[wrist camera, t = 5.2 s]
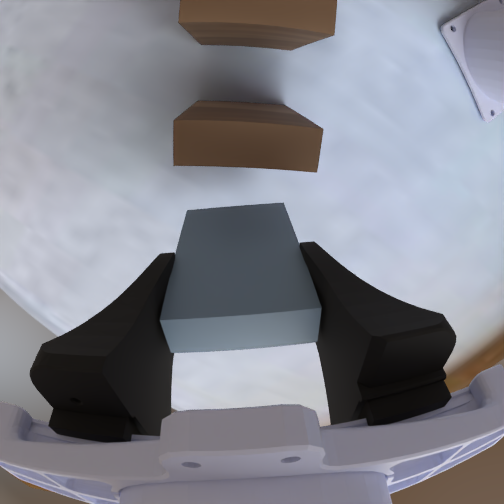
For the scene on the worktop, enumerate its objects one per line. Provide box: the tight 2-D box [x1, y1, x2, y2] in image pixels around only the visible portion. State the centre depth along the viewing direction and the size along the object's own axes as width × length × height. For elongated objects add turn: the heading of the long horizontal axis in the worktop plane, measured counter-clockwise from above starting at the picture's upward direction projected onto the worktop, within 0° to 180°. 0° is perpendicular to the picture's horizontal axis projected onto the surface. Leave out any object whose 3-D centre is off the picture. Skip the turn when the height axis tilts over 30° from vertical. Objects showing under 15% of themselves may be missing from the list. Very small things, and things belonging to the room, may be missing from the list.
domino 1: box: [178, 0, 337, 51], centre depth 11 cm, size 2×5×8 cm, turn 86°
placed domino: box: [160, 203, 322, 353], centre depth 13 cm, size 2×5×8 cm, turn 93°
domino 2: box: [173, 101, 323, 172], centre depth 13 cm, size 2×5×8 cm, turn 86°
